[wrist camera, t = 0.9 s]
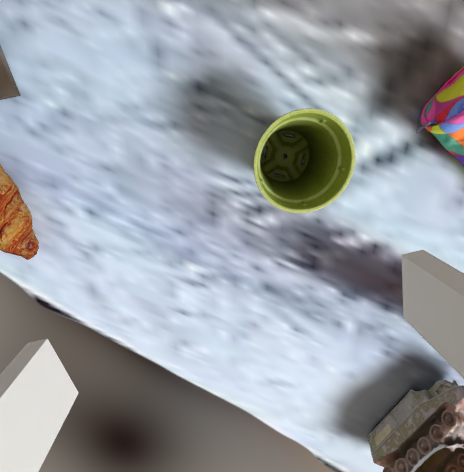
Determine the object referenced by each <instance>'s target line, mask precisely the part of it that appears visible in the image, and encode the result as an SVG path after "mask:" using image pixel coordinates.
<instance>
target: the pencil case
mask: <svg viewBox="0 0 464 472" xmlns="http://www.w3.org/2000/svg"><path fill="white" fill-rule="evenodd" d="M421 123H422V126H421V127H419V128H418V129H417V131H416V133H418V132H419V131H420V130H421V129H423V128H426V129H427V130H428V131H429V132H431V133H432V134H433V135H434V136H435V137H436V138H437V139H438V140H439V142H440V143H441V144H442V146H443V147H444V148H445V149H446V150H447V151H448V152H450V153H451V154H452V155H453V156H454V157H456V158H457V159H458V160H459V161H460V162H461V163H462V164H463V165H464V66H463V67H462V68H461V69H460V70H459V71H458V72H456V73H455V74H454V75H453V76H452V77H451V78H450V79H449V80H448V81H447V82H446V83H445V84H444V85H443V86H442V87H441V88H440V89H439V91H438V92H437V93H436V94H435V95H434V96H433V97H432V98H431V99H430V100H429V101H428V102H427V104H426V105H425V107H424V108H423V110H422V114H421Z"/></svg>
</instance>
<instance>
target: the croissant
mask: <svg viewBox="0 0 464 472" xmlns="http://www.w3.org/2000/svg"><path fill="white" fill-rule="evenodd" d="M38 244H39V242H38V240H37V238H36V236H35V233H34V231H33V229H32V216H31V214H30V211H29V209H28V208H27V205H26V204H25V203H24V201H23V200H22V198H21V195H20V192H19V190H18V187H17V186H16V185H15V183H14V182H13V181H12V180H11V178H10V177H9V176H8V174H6V173H5V171H4V169H3V168H2V166H1V165H0V250H1V251H3V252H6V253H10V254H15V255H18V256H22V257H23V258H25V259H27V260H28V259H31V258H32V257H34V256H35V255H36V254H37V251H38V249H39V246H38Z"/></svg>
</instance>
